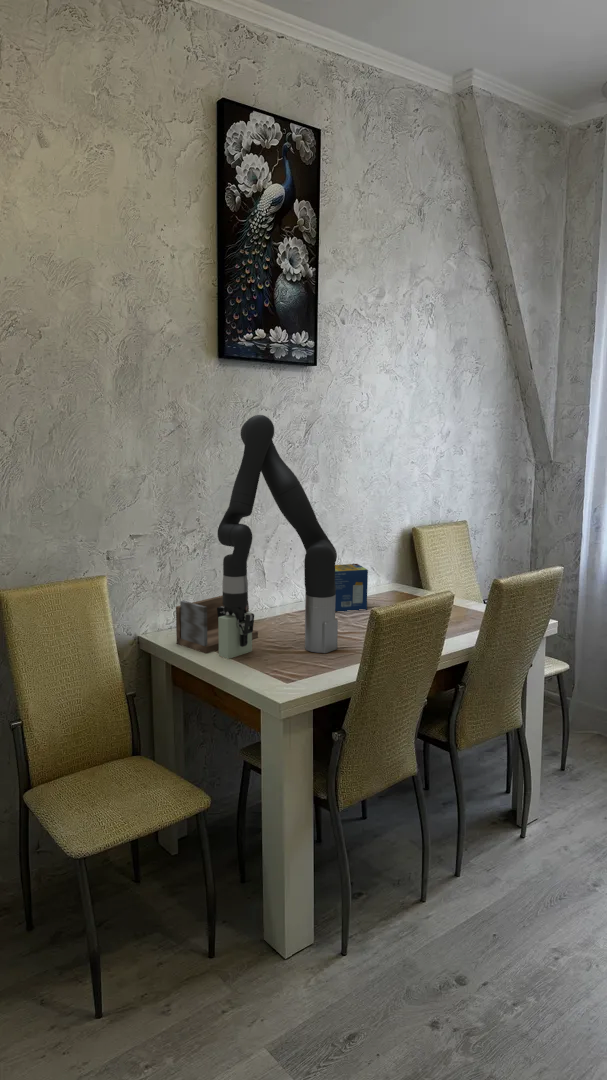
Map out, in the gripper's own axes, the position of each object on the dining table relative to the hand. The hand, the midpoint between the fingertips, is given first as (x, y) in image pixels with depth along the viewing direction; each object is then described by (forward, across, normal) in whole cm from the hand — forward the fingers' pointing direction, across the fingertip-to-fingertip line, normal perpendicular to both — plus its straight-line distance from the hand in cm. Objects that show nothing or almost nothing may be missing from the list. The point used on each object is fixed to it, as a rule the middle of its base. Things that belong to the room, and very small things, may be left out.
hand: (235, 643), depth 226 cm
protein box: (+3, +10, -64) cm, 65 cm away
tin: (+3, +24, -24) cm, 34 cm away
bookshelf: (+3, +14, -5) cm, 15 cm away
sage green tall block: (+3, 0, 0) cm, 3 cm away
